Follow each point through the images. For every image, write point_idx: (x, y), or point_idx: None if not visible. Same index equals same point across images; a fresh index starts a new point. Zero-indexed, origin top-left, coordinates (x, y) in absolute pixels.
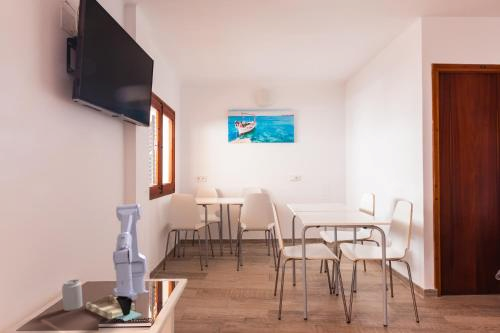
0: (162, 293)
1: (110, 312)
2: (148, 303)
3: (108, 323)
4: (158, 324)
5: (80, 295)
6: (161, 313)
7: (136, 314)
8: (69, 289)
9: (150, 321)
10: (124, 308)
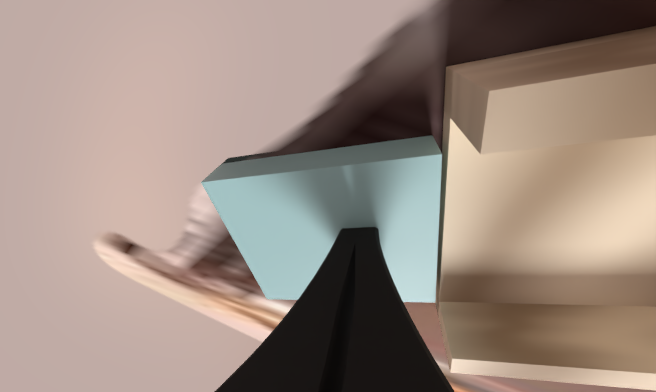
0: None
1: (496, 129)
2: (482, 375)
3: (398, 33)
4: (132, 278)
5: None
6: None
7: (293, 284)
8: None
9: (193, 276)
10: (303, 299)
